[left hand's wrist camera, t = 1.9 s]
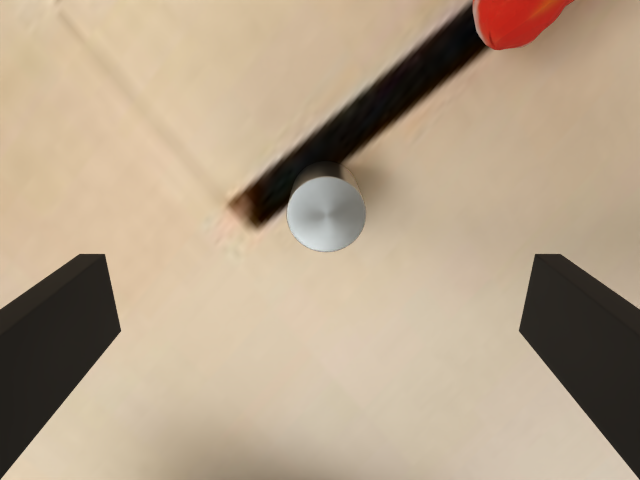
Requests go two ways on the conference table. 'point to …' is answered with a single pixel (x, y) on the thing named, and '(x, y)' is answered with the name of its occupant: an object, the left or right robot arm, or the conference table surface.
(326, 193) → the tin
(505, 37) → the fish
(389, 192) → the conference table surface
